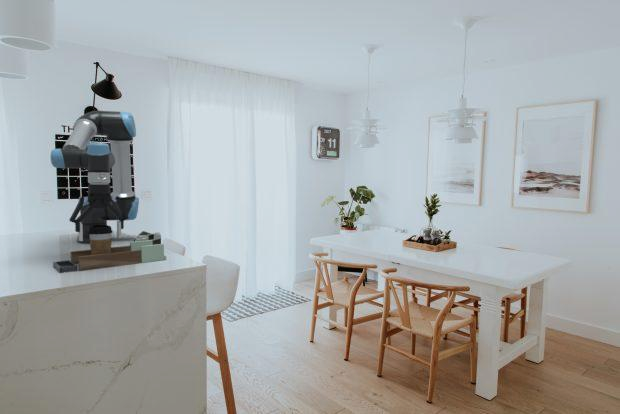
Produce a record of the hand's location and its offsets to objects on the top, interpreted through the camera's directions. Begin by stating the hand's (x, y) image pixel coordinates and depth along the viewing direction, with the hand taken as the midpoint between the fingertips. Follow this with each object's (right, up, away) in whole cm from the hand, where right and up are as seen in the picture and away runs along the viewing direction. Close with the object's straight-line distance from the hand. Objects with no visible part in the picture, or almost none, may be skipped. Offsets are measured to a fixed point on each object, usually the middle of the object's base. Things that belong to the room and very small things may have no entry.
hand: (100, 239), depth 157 cm
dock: (+13, -9, +13) cm, 20 cm away
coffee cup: (0, -10, +1) cm, 10 cm away
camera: (+7, -8, +26) cm, 28 cm away
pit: (-9, -10, -7) cm, 16 cm away
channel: (+1, -10, +2) cm, 10 cm away
